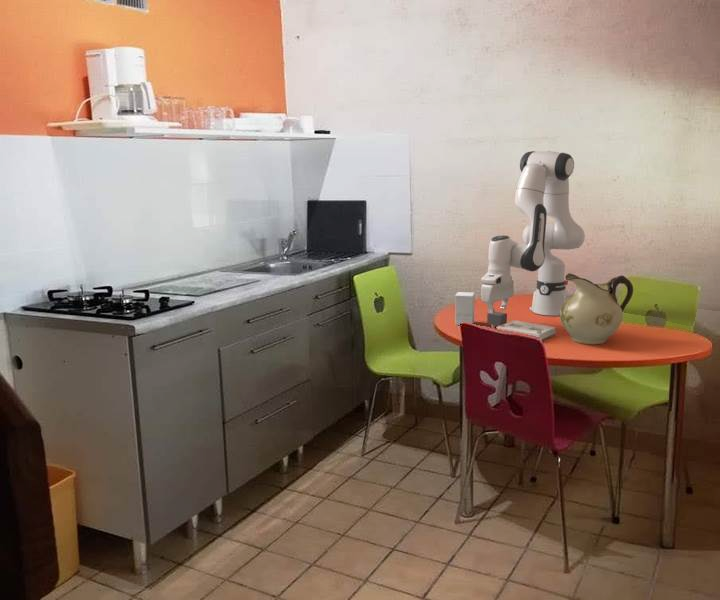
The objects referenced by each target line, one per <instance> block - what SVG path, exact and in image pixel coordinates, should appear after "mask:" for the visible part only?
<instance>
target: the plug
mask: <svg viewBox="0 0 720 600" xmlns="http://www.w3.org/2000/svg"><path fill="white" fill-rule="evenodd" d="M486 319H487V320H486V323H487V324H491V325H490V326H491V327H494V326H496V327H498V326H500V325H502V324H506V323H508V313H506V312H502V311H495V310H494V313H489V312H488V313H487V316H486ZM491 327H490V328H491ZM496 327H494V328H496Z"/></svg>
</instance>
